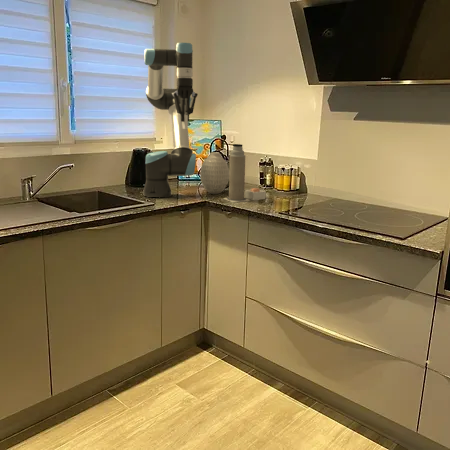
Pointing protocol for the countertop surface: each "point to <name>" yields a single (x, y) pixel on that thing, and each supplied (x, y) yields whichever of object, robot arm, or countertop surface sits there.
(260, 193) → the housing
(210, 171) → the vase
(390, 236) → the countertop surface
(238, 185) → the thermos bottle
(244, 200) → the beige square plate
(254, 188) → the brown egg
